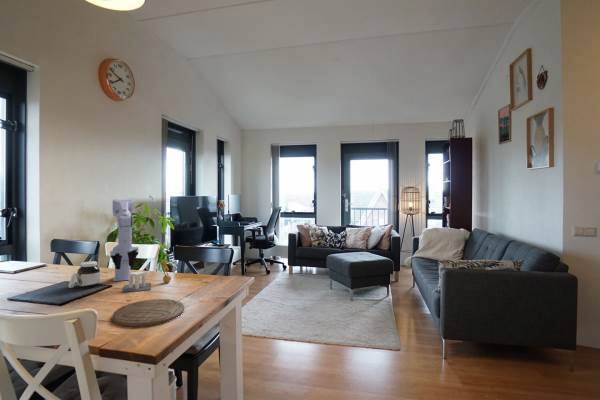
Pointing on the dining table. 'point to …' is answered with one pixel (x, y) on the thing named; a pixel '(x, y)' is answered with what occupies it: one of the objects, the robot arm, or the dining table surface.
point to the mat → (127, 289)
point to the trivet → (148, 312)
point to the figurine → (166, 277)
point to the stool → (137, 279)
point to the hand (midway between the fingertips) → (124, 267)
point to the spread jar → (86, 275)
